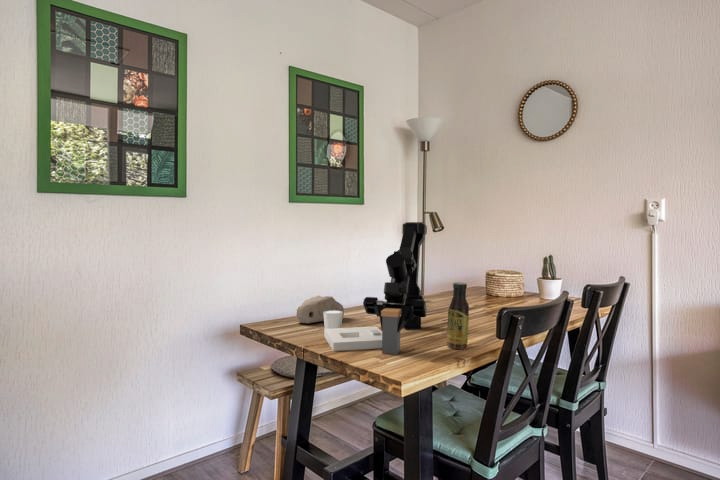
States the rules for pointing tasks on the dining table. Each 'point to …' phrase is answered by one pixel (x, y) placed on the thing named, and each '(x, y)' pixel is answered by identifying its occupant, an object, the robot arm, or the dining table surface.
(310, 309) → the decorative stone
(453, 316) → the sauce bottle
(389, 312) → the plug
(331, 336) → the socket plate
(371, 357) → the dining table surface
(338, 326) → the white tapered cup
